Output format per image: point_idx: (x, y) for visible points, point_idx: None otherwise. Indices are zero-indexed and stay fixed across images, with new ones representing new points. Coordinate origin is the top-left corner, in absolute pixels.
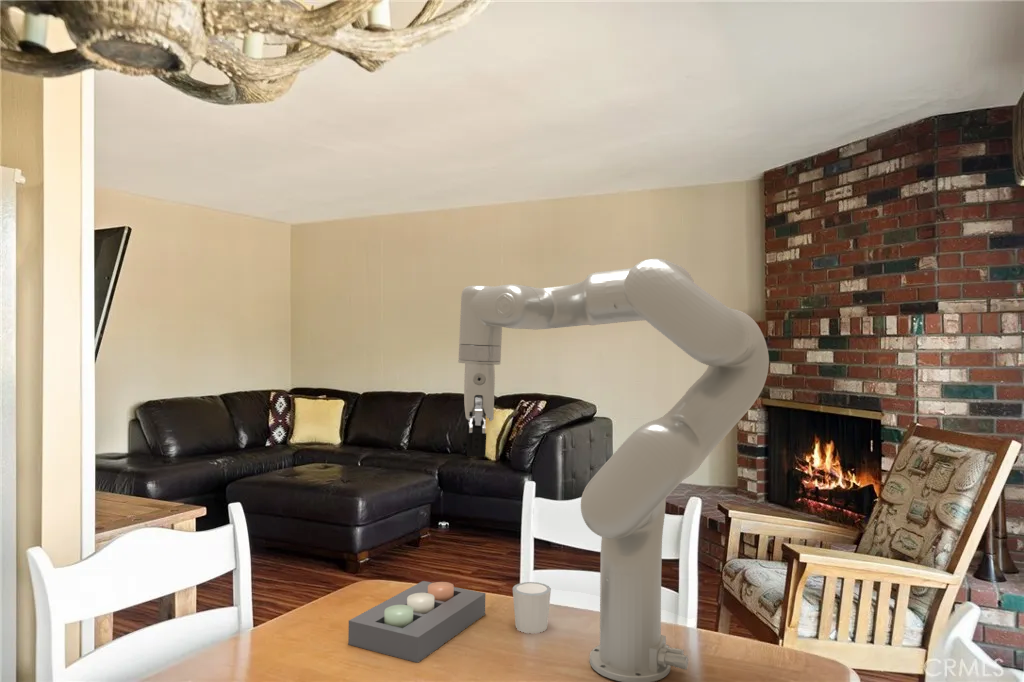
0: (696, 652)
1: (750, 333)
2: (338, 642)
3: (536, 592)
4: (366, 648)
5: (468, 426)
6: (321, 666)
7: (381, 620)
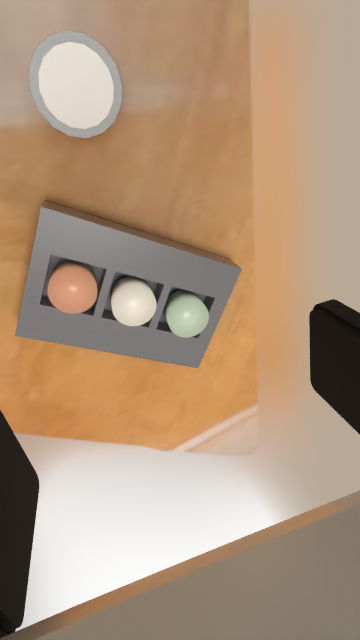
0: None
1: None
2: None
3: (99, 72)
4: None
5: (17, 623)
6: (242, 353)
7: None
